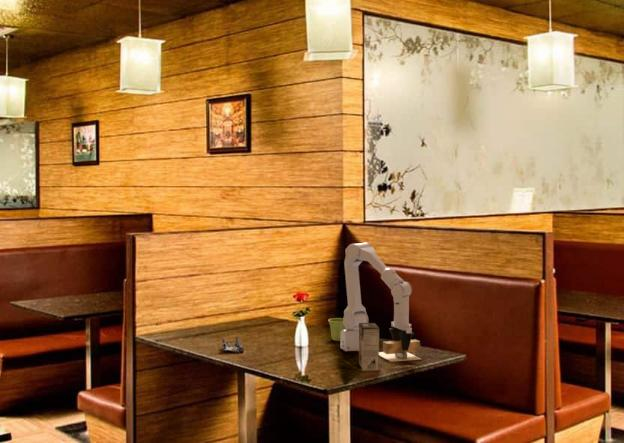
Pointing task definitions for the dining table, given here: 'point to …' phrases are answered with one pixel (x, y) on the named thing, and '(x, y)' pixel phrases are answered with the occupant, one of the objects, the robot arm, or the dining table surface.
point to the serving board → (393, 358)
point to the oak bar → (400, 347)
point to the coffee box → (368, 346)
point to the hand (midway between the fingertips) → (401, 348)
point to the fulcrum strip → (401, 355)
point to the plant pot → (336, 328)
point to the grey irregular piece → (228, 347)
